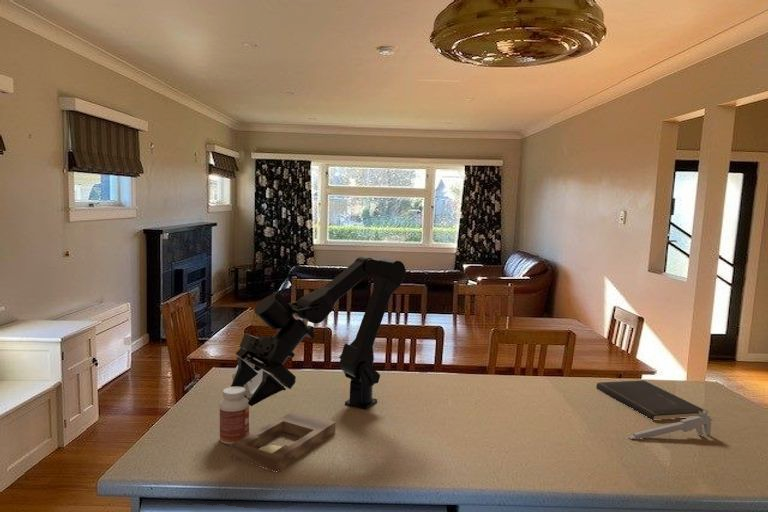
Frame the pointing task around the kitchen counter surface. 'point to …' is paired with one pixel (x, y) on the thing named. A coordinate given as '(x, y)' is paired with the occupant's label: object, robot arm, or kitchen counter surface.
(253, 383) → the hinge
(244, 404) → the pill bottle
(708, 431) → the caliper
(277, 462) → the wooden rectangular frame
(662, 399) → the hardcover book
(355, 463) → the kitchen counter surface
